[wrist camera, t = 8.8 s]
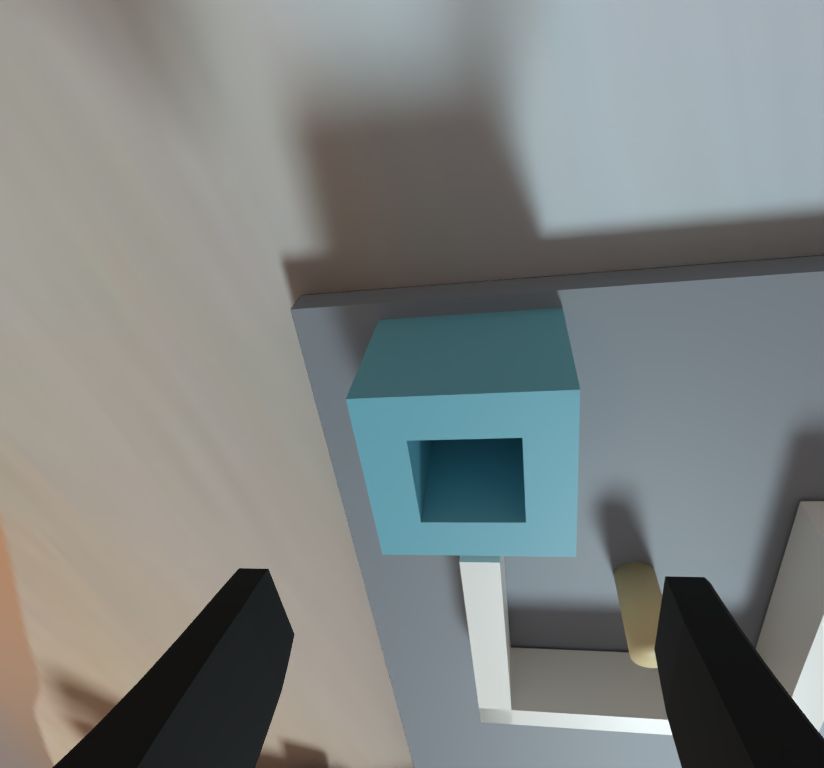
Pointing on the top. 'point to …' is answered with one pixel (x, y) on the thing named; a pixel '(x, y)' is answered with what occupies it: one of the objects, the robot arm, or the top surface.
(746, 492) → the board
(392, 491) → the blue square hollow block
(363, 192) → the top surface
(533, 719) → the white u-shaped piece
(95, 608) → the top surface
